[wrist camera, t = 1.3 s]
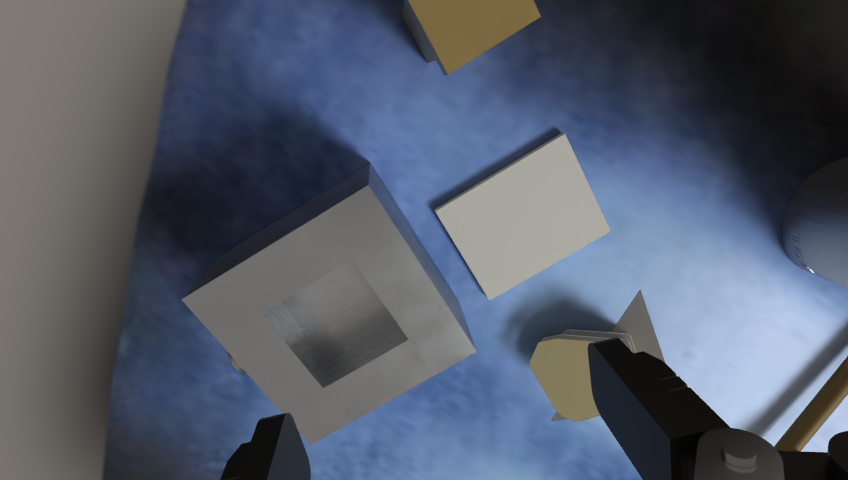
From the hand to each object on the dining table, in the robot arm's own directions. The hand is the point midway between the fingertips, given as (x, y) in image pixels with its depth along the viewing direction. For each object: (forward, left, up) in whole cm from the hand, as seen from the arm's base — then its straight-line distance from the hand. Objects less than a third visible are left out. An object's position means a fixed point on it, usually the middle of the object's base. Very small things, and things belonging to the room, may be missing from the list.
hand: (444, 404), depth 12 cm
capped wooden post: (-8, -9, -21) cm, 24 cm away
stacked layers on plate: (-6, +19, -21) cm, 29 cm away
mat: (-7, +5, -21) cm, 23 cm away
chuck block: (+6, +2, -21) cm, 22 cm away
